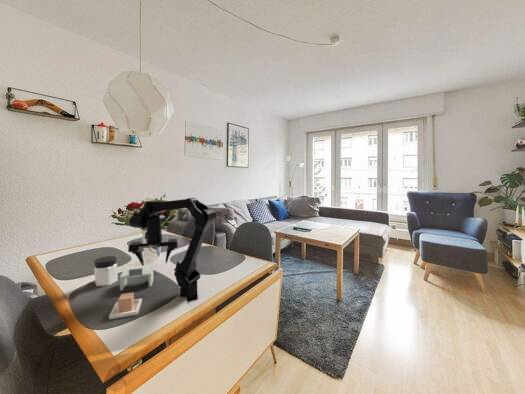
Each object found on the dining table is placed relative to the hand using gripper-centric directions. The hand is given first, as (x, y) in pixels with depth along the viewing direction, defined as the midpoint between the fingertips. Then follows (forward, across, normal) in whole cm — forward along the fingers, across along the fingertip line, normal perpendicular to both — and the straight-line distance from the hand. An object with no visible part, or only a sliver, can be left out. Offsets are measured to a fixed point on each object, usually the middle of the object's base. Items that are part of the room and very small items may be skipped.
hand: (154, 264), depth 95 cm
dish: (+11, +8, +14) cm, 20 cm away
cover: (+11, +8, -5) cm, 14 cm away
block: (+10, +8, +14) cm, 19 cm away
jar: (+12, +22, -12) cm, 28 cm away
